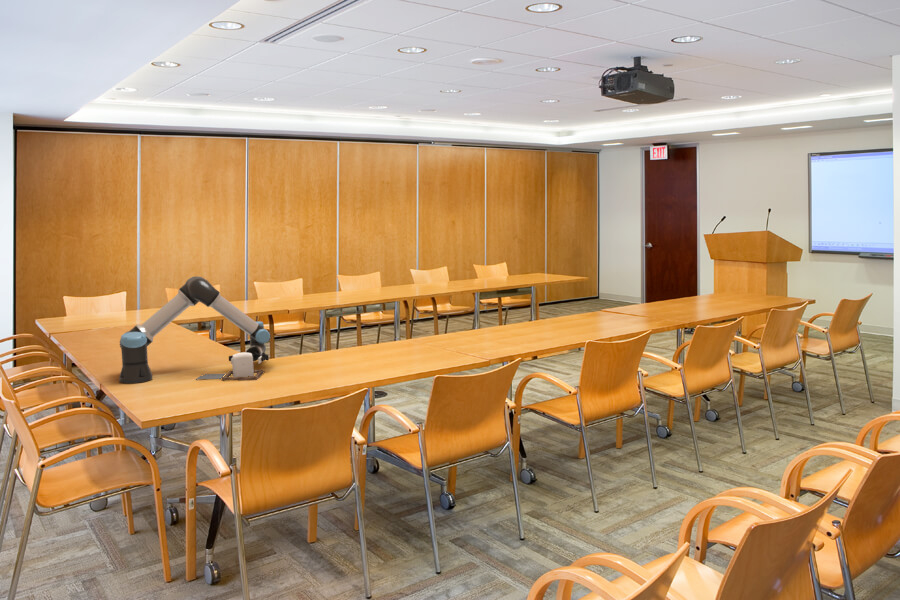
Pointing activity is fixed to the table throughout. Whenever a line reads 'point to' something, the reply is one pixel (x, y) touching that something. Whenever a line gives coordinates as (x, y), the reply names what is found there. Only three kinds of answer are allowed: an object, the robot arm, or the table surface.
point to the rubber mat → (211, 376)
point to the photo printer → (242, 365)
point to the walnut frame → (259, 373)
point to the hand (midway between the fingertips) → (245, 361)
